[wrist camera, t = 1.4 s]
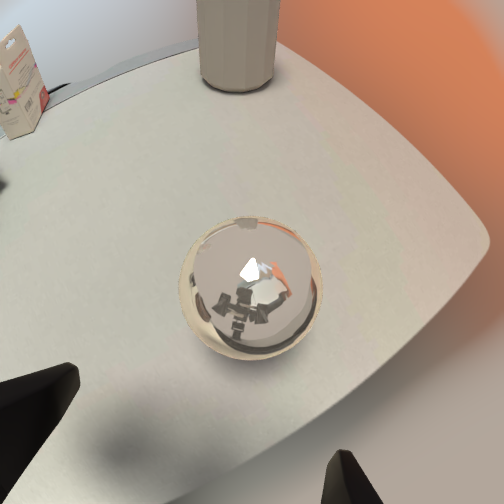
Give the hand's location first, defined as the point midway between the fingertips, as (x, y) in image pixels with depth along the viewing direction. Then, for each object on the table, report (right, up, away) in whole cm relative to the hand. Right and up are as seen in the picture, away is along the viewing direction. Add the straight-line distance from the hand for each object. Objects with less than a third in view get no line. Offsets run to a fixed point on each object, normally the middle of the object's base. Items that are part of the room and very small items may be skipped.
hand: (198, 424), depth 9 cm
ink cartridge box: (-31, +25, +26) cm, 48 cm away
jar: (0, +29, +30) cm, 41 cm away
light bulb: (+1, 0, +14) cm, 14 cm away
